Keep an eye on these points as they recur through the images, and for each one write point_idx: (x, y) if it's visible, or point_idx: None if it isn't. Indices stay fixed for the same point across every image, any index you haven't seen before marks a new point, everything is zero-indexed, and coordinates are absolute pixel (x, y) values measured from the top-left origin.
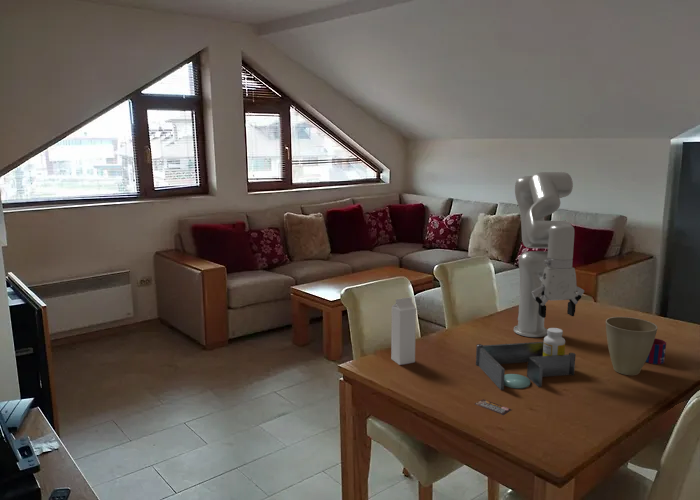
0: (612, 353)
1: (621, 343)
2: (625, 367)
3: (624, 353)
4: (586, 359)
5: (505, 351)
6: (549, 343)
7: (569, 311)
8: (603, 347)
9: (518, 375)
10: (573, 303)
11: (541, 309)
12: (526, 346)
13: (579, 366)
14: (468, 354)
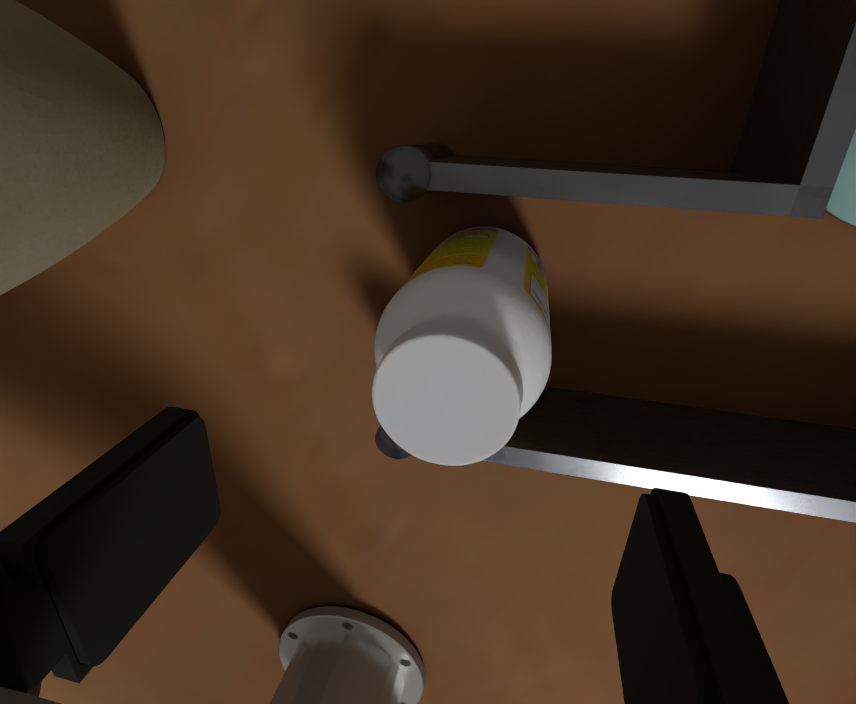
0: (100, 129)
1: None
2: (96, 52)
3: (9, 8)
4: (248, 333)
5: (771, 460)
6: (539, 315)
7: (183, 506)
8: (116, 430)
9: (839, 190)
10: (6, 584)
11: (759, 658)
12: (609, 451)
13: (327, 259)
14: (852, 579)
